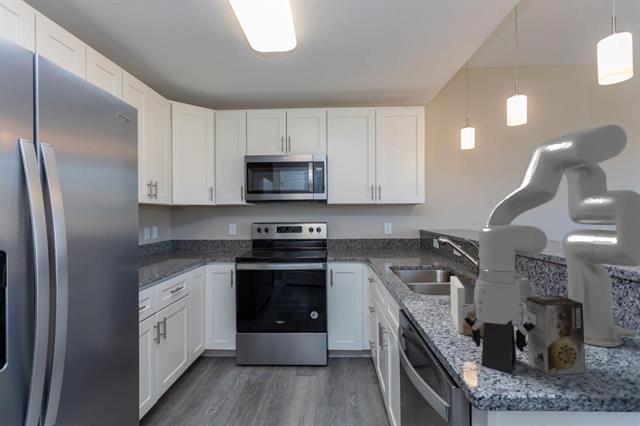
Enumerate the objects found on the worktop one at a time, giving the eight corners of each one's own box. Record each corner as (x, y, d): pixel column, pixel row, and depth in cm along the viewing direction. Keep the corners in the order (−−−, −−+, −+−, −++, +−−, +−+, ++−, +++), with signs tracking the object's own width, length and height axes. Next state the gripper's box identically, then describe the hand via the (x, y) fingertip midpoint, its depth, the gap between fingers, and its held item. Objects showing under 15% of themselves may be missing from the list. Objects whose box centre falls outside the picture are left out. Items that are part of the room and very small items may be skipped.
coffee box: (562, 360, 73) (560, 295, 74) (586, 374, 67) (584, 302, 67) (526, 361, 73) (525, 296, 73) (548, 375, 66) (546, 304, 67)
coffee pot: (444, 311, 112) (443, 271, 112) (452, 303, 121) (451, 267, 121) (511, 323, 99) (510, 278, 99) (514, 313, 108) (513, 272, 108)
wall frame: (457, 314, 108) (456, 276, 108) (465, 333, 90) (464, 288, 91) (451, 314, 108) (450, 276, 108) (458, 333, 91) (457, 287, 91)
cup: (510, 295, 132) (509, 275, 132) (537, 299, 125) (537, 278, 125) (506, 299, 126) (506, 278, 126) (535, 303, 119) (534, 281, 120)
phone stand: (510, 374, 67) (509, 321, 67) (481, 365, 71) (480, 316, 71) (517, 359, 74) (515, 311, 74) (489, 352, 78) (489, 307, 78)
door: (462, 333, 90) (462, 303, 90) (511, 337, 86) (510, 307, 86) (463, 335, 88) (463, 305, 88) (513, 340, 84) (513, 309, 84)
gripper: (532, 275, 74) (533, 344, 74) (456, 272, 79) (457, 336, 79) (544, 281, 67) (546, 358, 66) (460, 277, 72) (461, 348, 72)
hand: (498, 346), depth 73 cm, fingers open, 8 cm apart
